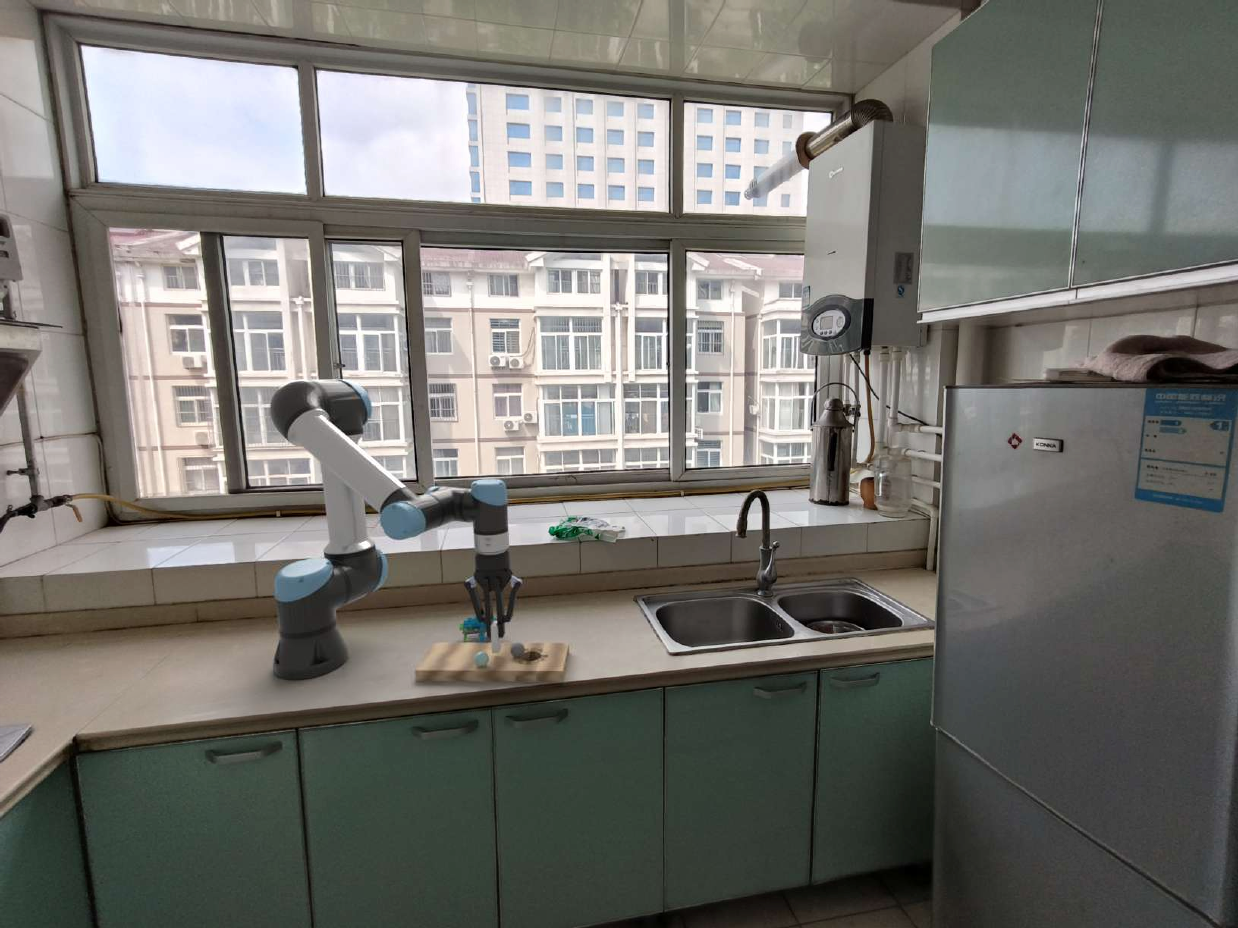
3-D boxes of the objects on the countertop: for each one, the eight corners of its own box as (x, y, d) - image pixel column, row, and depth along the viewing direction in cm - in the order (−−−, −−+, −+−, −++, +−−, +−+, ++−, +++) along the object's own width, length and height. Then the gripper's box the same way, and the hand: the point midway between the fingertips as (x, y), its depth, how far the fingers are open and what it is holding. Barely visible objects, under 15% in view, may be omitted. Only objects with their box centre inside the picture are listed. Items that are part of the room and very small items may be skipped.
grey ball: (517, 643, 128) (526, 654, 128) (520, 637, 131) (528, 647, 131) (506, 651, 128) (515, 662, 129) (509, 645, 132) (518, 655, 132)
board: (415, 680, 125) (415, 670, 124) (435, 652, 138) (435, 642, 137) (562, 681, 124) (562, 670, 124) (569, 652, 137) (569, 642, 137)
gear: (509, 626, 148) (495, 611, 140) (507, 649, 144) (492, 635, 136) (469, 629, 149) (453, 615, 141) (465, 652, 146) (449, 639, 138)
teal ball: (472, 669, 125) (471, 655, 124) (476, 662, 128) (475, 648, 127) (487, 669, 124) (486, 655, 124) (490, 662, 128) (490, 648, 127)
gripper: (457, 555, 123) (463, 658, 127) (518, 555, 123) (522, 658, 126) (467, 545, 130) (472, 642, 134) (524, 544, 130) (528, 642, 134)
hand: (496, 650), depth 130 cm, fingers closed
